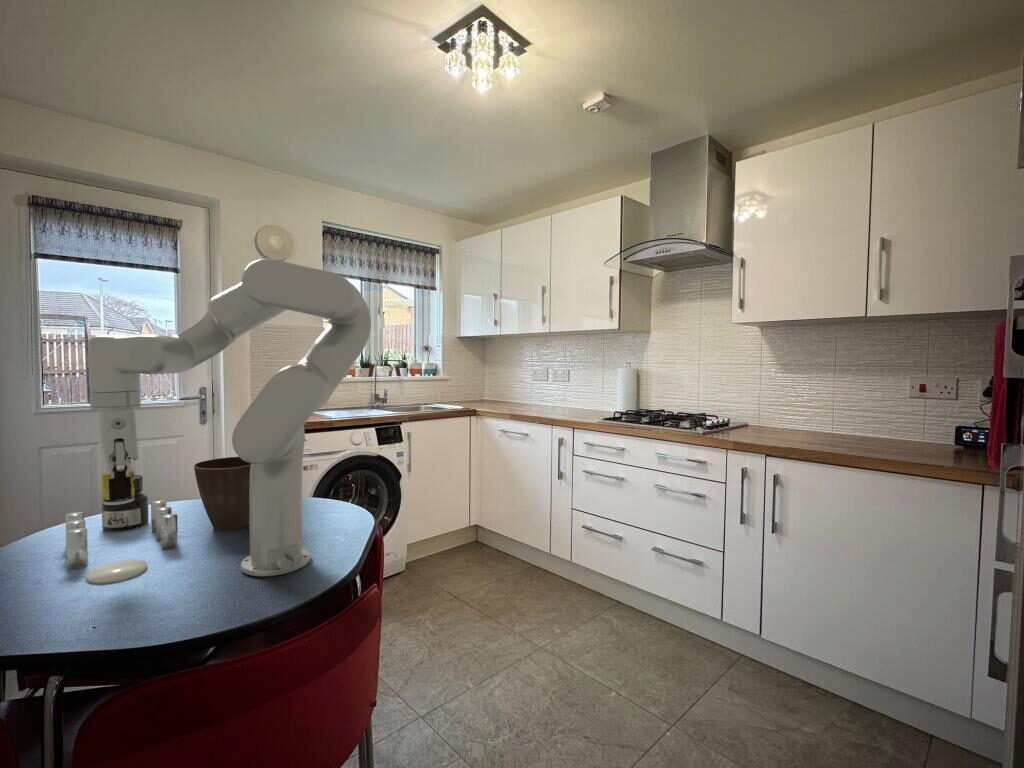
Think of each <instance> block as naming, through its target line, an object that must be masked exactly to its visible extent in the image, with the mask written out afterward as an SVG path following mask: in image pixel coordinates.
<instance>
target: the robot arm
mask: <svg viewBox="0 0 1024 768" xmlns="http://www.w3.org/2000/svg"><path fill="white" fill-rule="evenodd" d="M366 302H367V301H365V299H364V296H363V295H362V294H361V292H360V291H359V290H358V288H357V287H356V286H355V285H354V284H353V283H351V282H350V281H349V280H348V279H347V278H345V277H344V276H342V275H341V274H337V273H335V272H331V271H328V270H323V269H318V268H313V267H310V266H306V265H305V266H304V265H300V264H295V263H291V262H287V261H283V260H279V259H275V258H260V259H256V260H254V261H252V262H250V263H249V264H248V265H247V266H246V267H245V269H244V270H243V272H242V275H241V282H239V283H238V284H236V285H234V286H232V287H230V288H228V289H226V290H224V291H222V292H220V293H219V294H216V295H215V296H213V297H211V298H210V300H208V303H207V310H206V313H205V315H204V316H203V317H202V318H201V319H200V320H199V321H197V322H196V323H194V324H193V325H191V326H189V327H187V328H185V329H183V330H182V331H180V332H178V333H176V334H174V335H164V334H163V335H162V334H150V333H149V334H147V333H146V334H137V335H131V336H127V335H95V336H92V337H90V338H89V339H88V342H87V361H88V362H87V363H88V383H89V384H88V387H89V407H90V408H89V409H90V411H98V419H99V420H98V423H99V424H98V425H99V436H100V437H99V438H100V444H101V445H100V446H101V450H102V454H103V459H104V463H105V462H107V463H109V464H110V478H111V479H109V498H110V500H118V499H125V498H130V497H131V476H129V460H128V457H130V458H131V459H132V460H133V461H137V460H139V452H138V438H137V437H138V436H137V435H138V434H137V422H136V412H135V409H139V408H142V406H141V405H142V403H141V401H142V400H141V379H140V378H141V376H140V375H141V374H142V375H143V374H144V375H165V374H166V375H167V374H180V373H183V372H187V371H189V370H191V369H194V368H195V367H196V366H198V365H199V366H200V365H201V364H202V363H204V362H206V361H208V360H210V359H211V358H213V357H215V356H217V355H218V354H220V353H221V352H223V351H224V350H225V349H226V348H228V347H229V346H230V345H231V344H232V343H234V342H235V341H237V339H238V338H240V337H241V336H243V335H245V334H247V333H248V332H250V331H251V330H253V329H255V328H257V327H259V326H261V325H262V324H264V323H266V322H268V321H270V320H271V319H273V318H275V317H277V316H279V315H281V314H282V313H284V312H286V311H293V312H297V313H302V314H305V315H311V316H315V317H319V318H324V319H327V321H328V322H327V326H326V328H325V329H324V331H323V332H322V333H321V334H319V336H318V337H317V338H316V340H315V341H314V342H313V344H312V345H311V347H310V348H309V350H308V351H307V352H306V353H305V355H304V356H303V357H302V358H301V359H300V361H299V362H298V363H294V364H290V365H287V366H285V367H283V368H281V369H280V370H278V371H277V372H276V373H275V374H273V375H272V377H271V378H270V379H269V380H268V381H267V382H266V384H265V385H264V386H263V388H262V389H261V390H260V392H259V393H258V394H257V396H256V397H255V399H254V400H253V401H252V402H251V404H250V405H249V406H248V408H247V409H246V411H245V412H244V413H243V414H242V416H241V417H240V418H239V420H238V422H237V423H236V425H235V427H234V429H233V431H232V436H231V441H232V442H231V443H232V447H233V450H234V452H235V453H236V455H237V457H240V458H241V459H242V460H244V461H246V462H248V463H251V467H250V490H249V504H250V521H249V555H248V556H246V557H245V558H243V560H242V561H241V563H240V570H241V572H242V573H244V574H245V575H248V576H253V577H274V576H280V575H284V574H289V573H292V572H294V571H295V572H296V571H298V570H299V569H301V568H304V567H305V566H306V565H307V564H308V563H309V562H310V560H311V553H310V551H309V550H307V549H305V548H303V534H302V533H303V527H302V526H303V524H302V523H303V516H302V515H303V508H302V507H303V506H302V505H303V502H302V501H303V494H302V493H303V463H304V462H303V461H304V460H303V459H304V451H305V450H304V449H305V448H304V447H305V439H306V438H305V437H306V436H305V435H306V434H305V426H304V425H305V424H306V423H307V422H308V420H309V419H310V418H311V416H312V415H313V414H314V413H315V412H316V411H318V410H319V409H321V408H323V407H324V406H325V405H326V404H327V403H328V402H329V400H330V398H331V397H332V395H333V394H334V392H335V390H336V389H337V388H338V386H339V385H340V384H341V382H342V381H343V380H344V378H345V376H346V375H347V373H348V372H349V371H350V369H351V367H352V366H353V365H354V364H355V362H356V360H357V359H358V358H359V356H360V355H361V353H362V352H363V350H364V349H365V348H366V345H367V343H368V340H369V338H370V335H371V331H372V330H371V329H372V318H371V314H370V309H369V306H368V305H367V303H366ZM125 457H126V460H125ZM112 459H116V461H113V462H112ZM114 465H116V466H114Z"/></svg>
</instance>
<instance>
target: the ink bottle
mask: <svg viewBox="0 0 1024 768" xmlns="http://www.w3.org/2000/svg"><path fill="white" fill-rule="evenodd" d="M143 479H144V477H143V475H141V474H134V490H135V499H134V500H133V501H131V502H129V503H125V504H119V505H105V504H104V503H103V502H102V503H101V527H102V530H103V531H105V532H125V531H131V530H135V529H138V528H141V527H143V526H146V525H147V524H148V523H149V497H148V496H147V494H144V493H143V490H144V488H143V487H144V486H143Z"/></svg>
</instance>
